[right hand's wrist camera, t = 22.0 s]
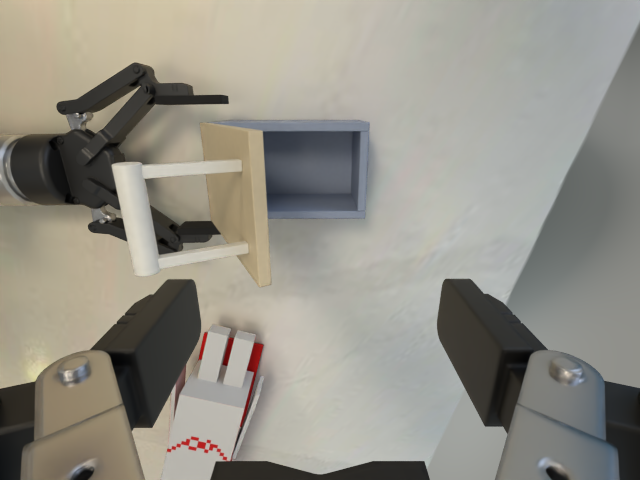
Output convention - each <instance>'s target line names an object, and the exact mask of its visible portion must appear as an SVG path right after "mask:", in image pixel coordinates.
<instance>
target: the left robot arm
mask: <svg viewBox="0 0 640 480" xmlns="http://www.w3.org/2000/svg"><path fill="white" fill-rule="evenodd" d="M139 86H141V87H140V88H139V89H138V90H137V91H136V92H135V94H134V95H133V96H132V97H131V98H130V99H129V100H128V102H127V103H126V104H125V105H124V106H123V107H122V108H121V109H120V111H119V112H118V113H117V114H116V115H115V116H114V117H113V119H112V120H111V121H110V122H109V123H108V124H107V125H106V127H105V128H104V129H102V130H100V131H99V132H98V133H97V134H95V133H94V132H92V131H91V130H88V129H86V123H87V122H88V121H90V120H91V119H92V118H93V114H92V113H94V112H97V111H100V110H102V109H104V108H105V107H107V106H108V105H110V104H112V103H113V102H115V101H116V100H118V99H120V98H121V97H123V96H124V95H126V94H128V93H129V92H131V91H132V90H134V89H136V88H137V87H139ZM155 104H159V105H189V104H229V101H228V96H224V95H193V87H192V86H191V85H188V84H184V83H159V82H158V81H157V80H156V78H155V76H154V70H153V69H152V67H150V66H147V65H143V64H139V63H133V64H131V65H129V66H128V67H126V68H125V69H123V70H122V71H120V72H119V73H117V74H115V75H114V76H112V77H111V78H109V79H108V80H106V81H105V82H103V83H101V84H100V85H98V86H97V87H95V88H94V89H92V90H91V91H89V92H87V93H86V94H84V95H83V96H81V97H80V98H78V99H76V100H69V101H62V102H59V103H58V104H57V110H58V112H59V113H61V114H63V115H66V116H67V119H68V122H69V125H70V127H71V131H70V132H68V133H66V134H30V135H0V206H35V205H85V206H87V207H89V208H91V210H92V218H93V222H91V223H90V224H89V225H88V229H89V230H90V231H91V232H93V233H102V234H110V235H113V236H115V237H117V238H120V239H122V240H125V241H127V236H126V232H125V227H124V222H123V219H122V218H116V214H114V213H110V212H108V211H107V210H106V209H105V206H106V205H108V204H109V205H111V206H112V207H114V208H115V209H118V210H121V208H120V203H119V199H118V194H117V189H116V184H115V180H114V175H113V170H112V164H115V163H121V162H125V157H124V154H122V153H121V152H120V150H119V149H118V147H119V146H120V145H121V144H122V142H123V141H124V140H125V139H126V136H127V135H128V133H129V132H130V131H131V130H132V129H133V128H134V127H135V126H136V125H137V124H138V122H139V121H140V120H141V119H142V118H143V117H144V116H145V115H146V114H147V113H148V111H149V110H150V109H151V108H152V107H153V106H154V105H155ZM150 209H151V215H152V220H153V226H154V232H155V237H156V243H157V248H158V254H159V255H162V254H168V253H174V252H180V251H181V250H182V249H183V243H197V242H207V241H209V240H210V239H211V237H212V235H217V234H221V233H220V232H219V231H218V229H217V228H216V226H215V225H214V224H213V222H212V221H186V222H184V223H183V224H182V225H181V226H179V225H178V224H177V223H175V222H174V221H172V220H171V219H169V218H168V217H167V216H165V215H164V214H162V213H161V212H159V211H158V210H156V209H155V208H154V207H152V206H151V205H150ZM127 242H128V241H127Z"/></svg>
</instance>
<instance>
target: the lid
mask: <svg viewBox="0 0 640 480" xmlns="http://www.w3.org/2000/svg"><path fill="white" fill-rule="evenodd" d="M200 129H201V138H202V146H203V155H204V161H196V162H179V163H162V164H146V165H142V163H140V162H121V163H115V164H112V170H113V175H114V180H115V184H116V189H117V194H118V199H119V203H120V208H121V213H122V218H123V222H124V227H125V232H126V236H127V241H128V246H129V251H130V255H131V260H132V265H133V270H134V274H135V275H136V276H140V277H145V276H151V275H154V274H157V273H158V272H160V270H161V269H164V268H169V267H175V266H180V265H186V264H191V263H197V262H202V261H208V260H213V259H219V258H225V257H230V256H237V257H238V258H239V260H240V261H241V263H242V264H243V265H244V267H245V268H246V270H247V271H248V272H249V274H250V275H251V276H252V278H253V279H254V281H255V282H256V283H257V285H258V286H259V287H263V286H268V285H271V266H270V248H269V230H268V213H267V195H266V178H265V160H264V143H263V131H261V130H255V129H248V128H242V127H235V126H228V125H221V124H214V123H200ZM202 174H206V180H207V189H208V197H209V206H210V214H211V221H212V222H213V224H214V225H215V226H216V228H217V229H218V231H219V232H220V233H221V235H222V236H223V238H224V239H225V240H226V242H227V243H228V244H223V245H217V246H211V247H205V248H199V249H193V250H187V251H181V252H174V253H168V254H162V255H159V254H158V248H157V243H156V237H155V232H154V226H153V220H152V215H151V209H150V204H149V198H148V193H147V187H146V182H145V179H149V178H163V177H176V176H189V175H202Z"/></svg>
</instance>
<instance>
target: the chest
mask: <svg viewBox="0 0 640 480" xmlns="http://www.w3.org/2000/svg"><path fill="white" fill-rule="evenodd" d="M207 123H214V124H221V125H228V126H235V127H242V128H248V129H255V130H261V131H263V143H264V160H265V178H266V195H267V213H268V219H364V218H365V207H366V186H367V164H368V143H369V122H365V121H360V120H228V121H217V122H207Z"/></svg>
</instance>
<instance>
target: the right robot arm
mask: <svg viewBox="0 0 640 480" xmlns="http://www.w3.org/2000/svg"><path fill="white" fill-rule="evenodd" d="M437 330H438V336H439V339H440V341H441V343H442V345H443V347H444V349H445V351H446V353H447V355H448V357H449V359H450V361H451V362H452V364H453V366H454V368H455V370H456V372H457V374H458V376H459V378H460V380H461V381H462V383H463V385H464V387H465V389H466V391H467V393H468V395H469V397H470V399H471V401H472V402H473V404H474V406H475V408H476V410H477V412H478V414H479V416H480V418H481V420H482V422H483V423H484V425H485V426H503V427H504V429H505V430H506V432H507V434H508V435H507V439H506V442H505V446H504V449H503V453H502V456H501V460H500V464H499V467H498V471H497V474H496V478H495V480H640V388H636V387H631V386H626V385H621V384H616V383H612V382H607V381H604V380H603V378H602V376H601V375H600V373H599V372H598V371H597V370H596V369H594V368H593V367H592V366H591V365H589V364H588V363H586V362H584V361H583V360H581V359H579V358H577V357H574V356H572V355H569V354H566V353H563V352H559V351H553V350H548V349H547V348H546V347H545V346H544V345H543V344H542V343H541V342H540V341H539V340H538V339H537V338H536V337H535V336H534V335H533V334H532V333H531V332H530V331H529V329H528V328H527V327H526V326H525V325H524V324H523V323H521V322H520V320H519V319H518V318H517V317H516V316H515V315H513V314H512V312H511V311H510V310H509V309H508V308H507V306H506V305H505V304H504V303H503V302H501V301H499V300H497V299H496V298H494V297H492V296H491V295H489V294H484V293H483V292H482V291H481V290H480V289H479V288H478V287H477V286H476V284H475V283H474V282H473V281H472V280H471V279H445V280H444V282H443V285H442V291H441V298H440V305H439V312H438V319H437ZM200 333H201V318H200V311H199V304H198V297H197V290H196V285H195V282H194V281H193V280H192V279H168V280H167V281H166V282H165V283H164V284H163V285H162V286H161V287H160V288H159V289H158V290H157V291H156V293H155V294H154V295H148V296H147V297H145V298H143V299H141V300H140V301H138V302H136V303H135V304H134V305H133V306H132V307H131V308H130V309H129V310H128V311H127V312H126V313H125V315H123V316H122V317H121V318H120V319H119V320H118V321H117V324H114V325H113V326H112V328H111V329H110V330H109V331H108V332H107V333H106V334H105V335H104V336H103V337H102V338H101V339H100V340H99V341H98V342H97V343H96V344H95V345H94V346H93V347H92V348H91V349H90V350H87V351H81V352H77V353H74V354H71V355H68V356H66V357H63V358H61V359H59V360H57V361H56V362H54V363H52V364H51V365H49V366H48V367H47V368H46V369H44V370H43V371H42V372H41V373H40V375H39V376H38V378H37V380H36V381H35V382H31V383H26V384H21V385H16V386H12V387H7V388H2V389H0V480H145V478H144V474H143V470H142V467H141V463H140V460H139V456H138V453H137V449H136V446H135V442H134V439H133V435H132V430H133V428H152V427H153V425H154V423H155V422H156V420H157V418H158V416H159V414H160V412H161V410H162V408H163V406H164V405H165V403H166V401H167V399H168V397H169V395H170V393H171V391H172V390H173V388H174V386H175V384H176V382H177V380H178V378H179V376H180V374H181V373H182V371H183V369H184V367H185V365H186V363H187V361H188V359H189V357H190V356H191V354H192V352H193V350H194V348H195V346H196V344H197V342H198V340H199V337H200ZM210 480H430V479H429V476H428V472H427V469H426V465H425V462H424V461H372V462H368V463H365V464H361V465H357V466H353V467H350V468H346V469H342V470H338V471H335V472H331V473H327V474H322V475H318V474H313V473H309V472H305V471H302V470H298V469H294V468H290V467H287V466H283V465H279V464H275V463H272V462H268V461H216V462H215V465H214V469H213V472H212V476H211V479H210Z"/></svg>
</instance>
